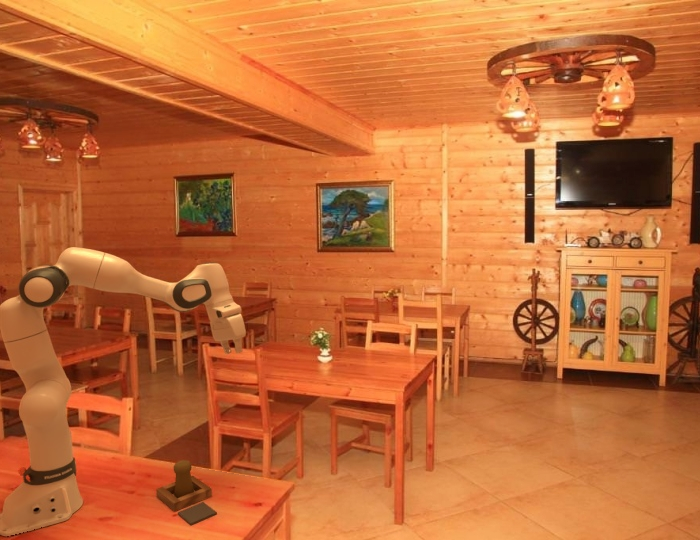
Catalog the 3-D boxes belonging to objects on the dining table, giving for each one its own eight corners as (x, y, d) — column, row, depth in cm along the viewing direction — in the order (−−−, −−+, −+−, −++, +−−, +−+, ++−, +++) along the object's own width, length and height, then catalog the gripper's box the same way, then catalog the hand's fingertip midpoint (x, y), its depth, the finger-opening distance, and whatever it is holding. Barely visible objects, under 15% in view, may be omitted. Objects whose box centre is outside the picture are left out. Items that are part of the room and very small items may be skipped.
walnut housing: (174, 511, 159) (174, 503, 158) (156, 496, 167) (156, 488, 167) (211, 496, 167) (211, 488, 167) (193, 482, 176) (192, 475, 175)
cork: (187, 489, 171) (185, 455, 170) (198, 495, 168) (196, 461, 166) (169, 497, 167) (167, 463, 166) (181, 504, 163) (179, 468, 162)
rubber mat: (190, 525, 151) (190, 523, 151) (177, 514, 157) (177, 512, 157) (216, 514, 157) (216, 512, 157) (203, 503, 163) (203, 501, 163)
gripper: (202, 316, 182) (213, 356, 182) (223, 311, 165) (236, 355, 165) (219, 311, 185) (231, 350, 185) (242, 305, 168) (255, 349, 169)
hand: (234, 353), depth 175 cm, fingers open, 8 cm apart
